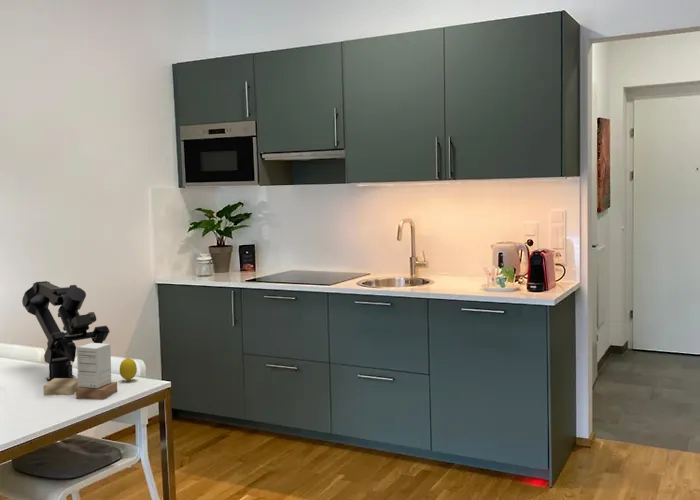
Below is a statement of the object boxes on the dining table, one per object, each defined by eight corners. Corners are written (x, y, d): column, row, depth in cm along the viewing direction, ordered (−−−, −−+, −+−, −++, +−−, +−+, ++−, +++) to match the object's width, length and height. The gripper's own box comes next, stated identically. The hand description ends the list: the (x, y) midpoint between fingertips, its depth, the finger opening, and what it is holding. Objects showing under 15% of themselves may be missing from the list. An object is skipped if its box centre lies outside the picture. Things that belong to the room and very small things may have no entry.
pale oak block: (43, 395, 224) (43, 385, 224) (54, 387, 233) (54, 378, 233) (72, 394, 225) (72, 385, 224) (82, 386, 234) (82, 377, 233)
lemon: (139, 379, 243) (138, 355, 242) (133, 383, 238) (132, 359, 237) (123, 378, 244) (123, 355, 243) (117, 383, 238) (116, 359, 238)
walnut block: (76, 398, 220) (75, 388, 220) (90, 390, 229) (90, 381, 229) (103, 399, 219) (103, 389, 219) (117, 391, 228) (116, 382, 228)
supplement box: (92, 381, 229) (91, 342, 228) (112, 383, 227) (111, 343, 226) (77, 387, 222) (76, 346, 221) (97, 388, 220) (96, 347, 219)
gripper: (49, 308, 223) (66, 348, 216) (106, 301, 236) (123, 339, 229) (40, 329, 229) (55, 369, 222) (95, 321, 242) (112, 359, 236)
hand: (87, 358), depth 227 cm, fingers open, 9 cm apart
